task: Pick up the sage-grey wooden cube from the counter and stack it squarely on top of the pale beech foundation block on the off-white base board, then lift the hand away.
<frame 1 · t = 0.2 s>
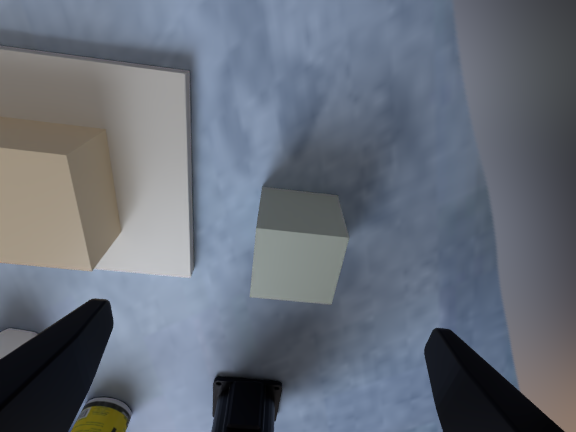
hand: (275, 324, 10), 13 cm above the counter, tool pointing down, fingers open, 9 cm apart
pepper shaker: (27, 345, 31), on the counter
sage cube: (294, 222, 24), on the counter
supplement bottle: (110, 406, 36), on the counter
build base: (64, 171, 22), on the counter
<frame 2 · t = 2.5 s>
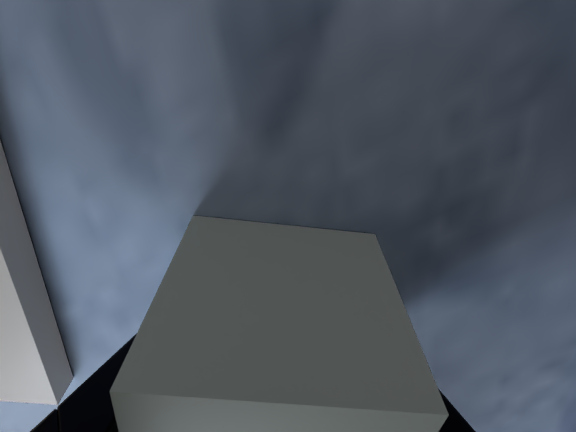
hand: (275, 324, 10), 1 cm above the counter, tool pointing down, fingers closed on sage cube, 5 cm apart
sage cube: (276, 293, 11), on the counter, touching gripper
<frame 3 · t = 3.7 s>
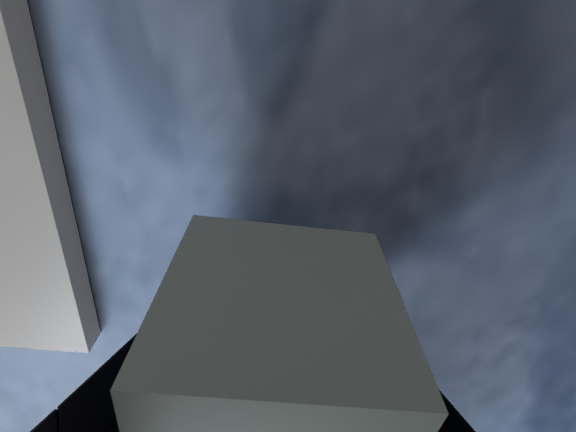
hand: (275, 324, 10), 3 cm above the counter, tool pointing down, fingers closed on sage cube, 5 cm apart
sage cube: (276, 292, 11), point 2 cm above the counter, touching gripper
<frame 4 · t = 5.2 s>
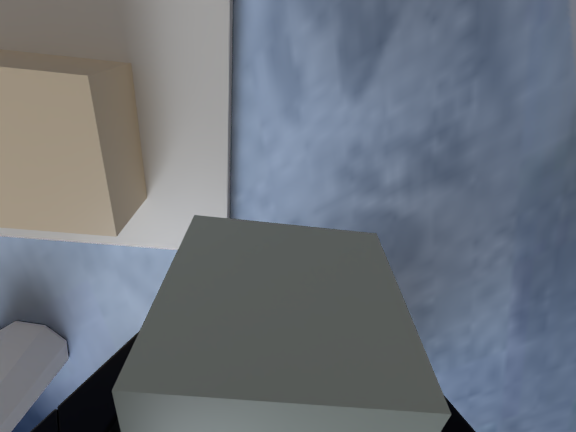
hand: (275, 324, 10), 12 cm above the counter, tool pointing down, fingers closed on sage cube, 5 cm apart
pepper shaker: (36, 342, 27), on the counter
sage cube: (277, 292, 11), point 10 cm above the counter, touching gripper
build base: (80, 125, 18), on the counter
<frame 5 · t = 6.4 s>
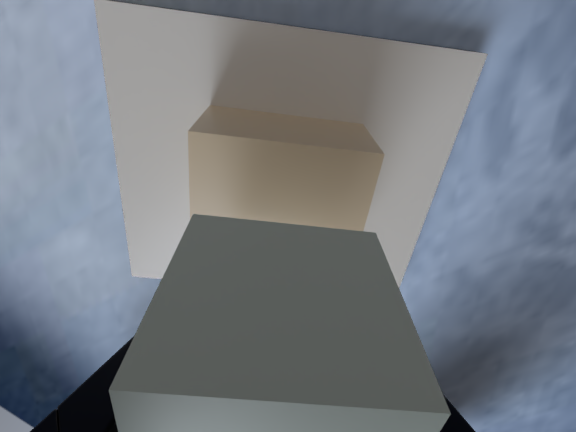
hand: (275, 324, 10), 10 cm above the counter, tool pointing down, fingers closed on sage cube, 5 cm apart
sage cube: (276, 292, 11), point 9 cm above the counter, touching gripper
build base: (279, 176, 18), on the counter
when the fingers open (8 cm above the counter, at t = 7.7 s): sage cube drops 1 cm, resting on build base.
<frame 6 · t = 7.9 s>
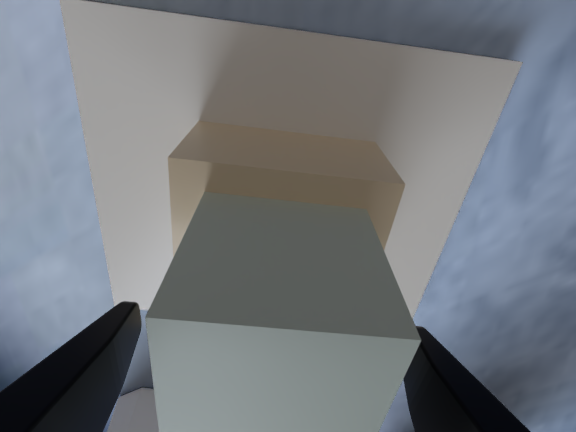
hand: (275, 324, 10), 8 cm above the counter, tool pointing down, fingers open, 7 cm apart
pepper shaker: (156, 406, 25), on the counter
sage cube: (277, 264, 12), point 5 cm above the counter, touching build base
build base: (279, 198, 16), on the counter
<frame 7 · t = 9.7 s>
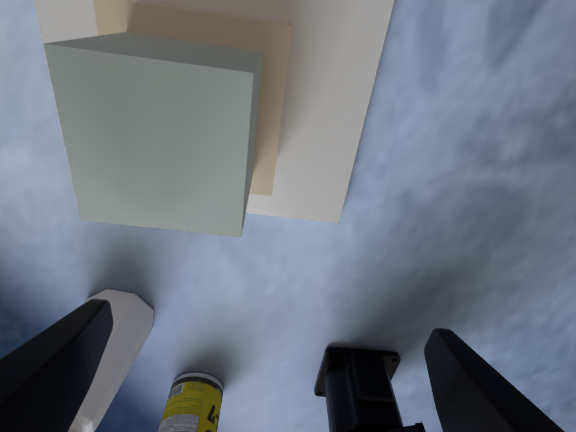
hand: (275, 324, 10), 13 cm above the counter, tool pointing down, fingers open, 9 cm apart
pepper shaker: (122, 311, 27), on the counter
sage cube: (196, 110, 14), point 5 cm above the counter, touching build base
supplement bottle: (198, 384, 32), on the counter
build base: (216, 86, 18), on the counter
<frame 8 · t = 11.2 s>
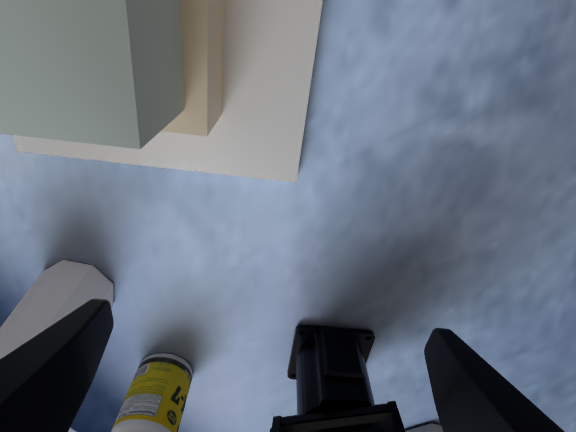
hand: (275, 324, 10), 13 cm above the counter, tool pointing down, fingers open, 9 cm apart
pepper shaker: (81, 285, 26), on the counter
sage cube: (115, 35, 13), point 5 cm above the counter, touching build base
supplement bottle: (167, 366, 31), on the counter
build base: (157, 31, 17), on the counter
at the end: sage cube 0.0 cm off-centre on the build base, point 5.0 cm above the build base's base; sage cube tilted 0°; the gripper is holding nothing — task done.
